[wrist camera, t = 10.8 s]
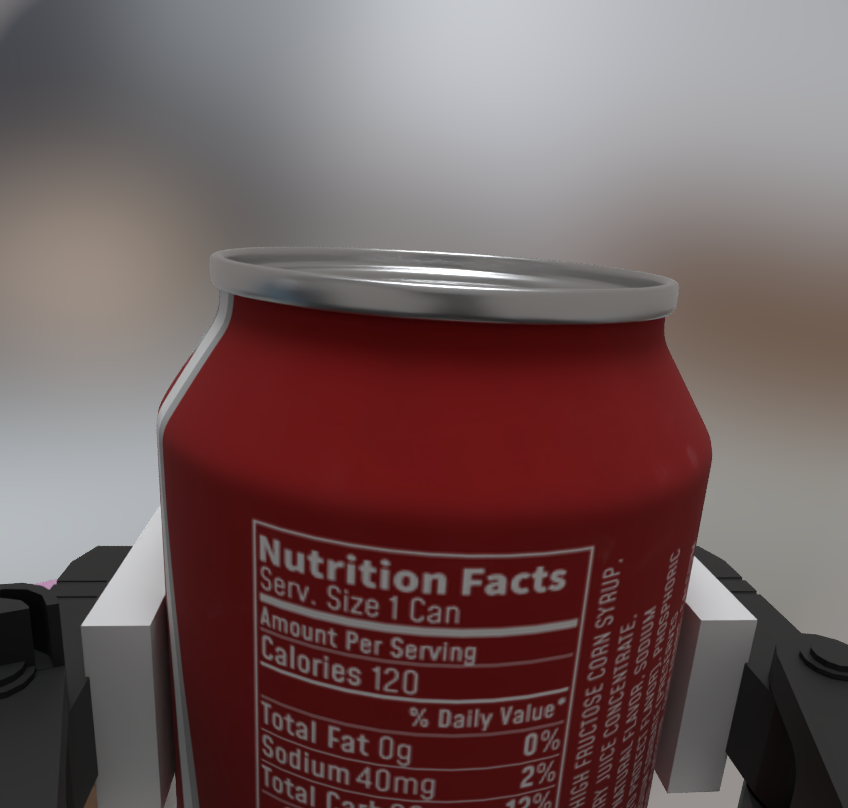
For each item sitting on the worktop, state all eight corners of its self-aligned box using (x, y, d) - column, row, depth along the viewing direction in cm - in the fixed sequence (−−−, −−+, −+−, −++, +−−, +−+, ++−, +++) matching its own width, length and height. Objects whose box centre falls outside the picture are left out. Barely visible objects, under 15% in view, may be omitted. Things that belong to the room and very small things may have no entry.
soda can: (693, 1130, 10) (902, 303, 6) (206, 1408, 7) (141, 294, 4) (486, 773, 16) (539, 252, 12) (182, 857, 13) (148, 237, 10)
